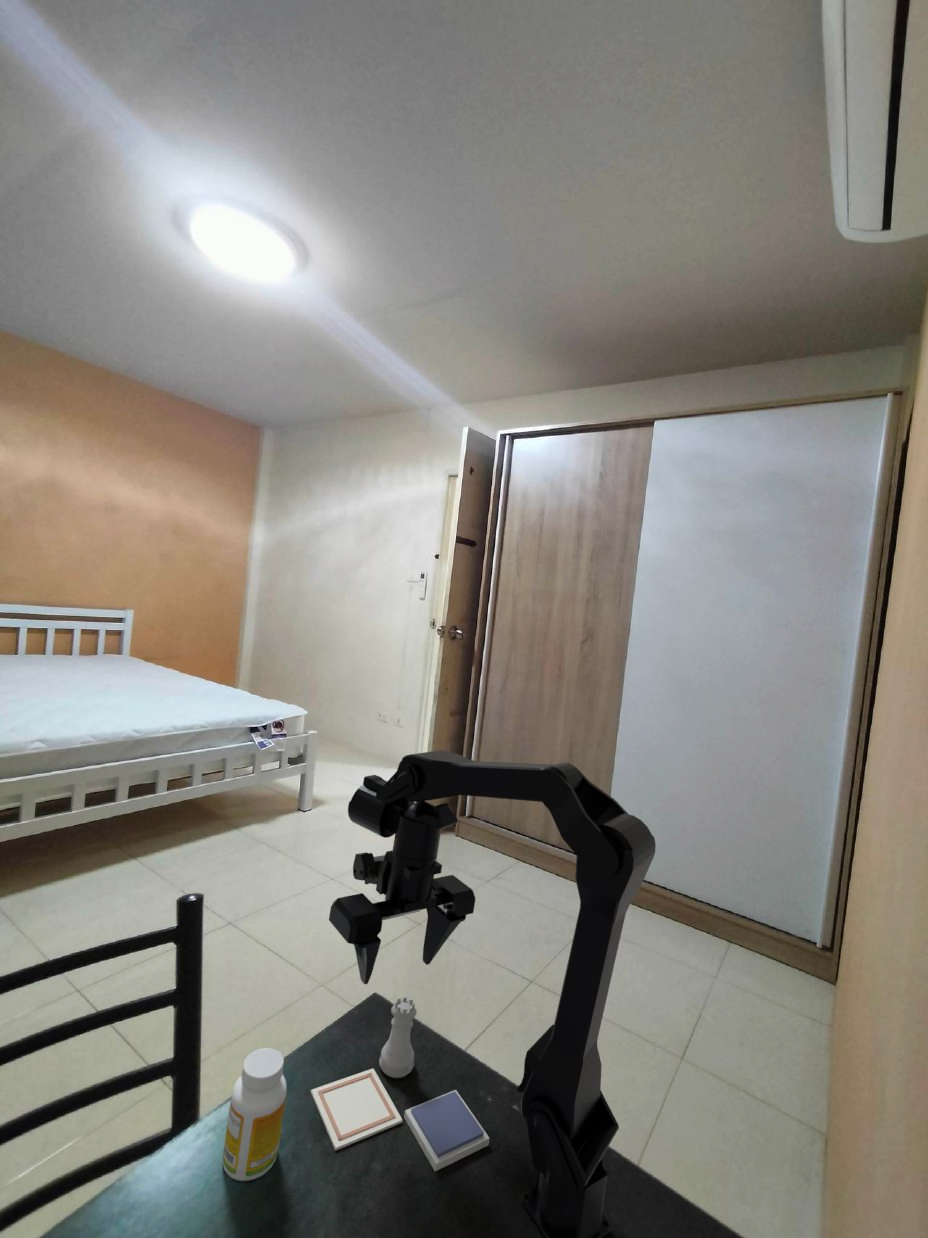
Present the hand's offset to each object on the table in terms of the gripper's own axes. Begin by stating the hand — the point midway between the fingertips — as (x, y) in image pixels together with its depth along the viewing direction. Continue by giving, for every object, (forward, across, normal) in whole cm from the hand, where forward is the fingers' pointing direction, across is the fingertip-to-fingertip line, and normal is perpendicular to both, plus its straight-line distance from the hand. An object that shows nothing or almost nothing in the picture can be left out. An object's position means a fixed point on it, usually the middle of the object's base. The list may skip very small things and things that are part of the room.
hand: (396, 972), depth 71 cm
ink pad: (+12, -2, +11) cm, 17 cm away
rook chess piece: (+12, -2, +1) cm, 12 cm away
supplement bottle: (+12, +18, +4) cm, 22 cm away
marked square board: (+12, +6, +4) cm, 14 cm away
